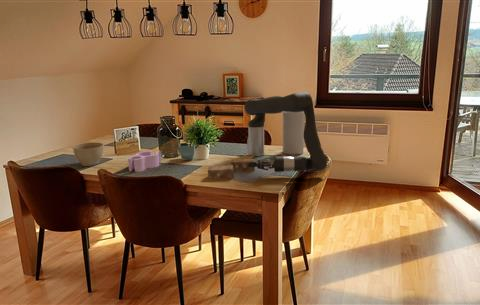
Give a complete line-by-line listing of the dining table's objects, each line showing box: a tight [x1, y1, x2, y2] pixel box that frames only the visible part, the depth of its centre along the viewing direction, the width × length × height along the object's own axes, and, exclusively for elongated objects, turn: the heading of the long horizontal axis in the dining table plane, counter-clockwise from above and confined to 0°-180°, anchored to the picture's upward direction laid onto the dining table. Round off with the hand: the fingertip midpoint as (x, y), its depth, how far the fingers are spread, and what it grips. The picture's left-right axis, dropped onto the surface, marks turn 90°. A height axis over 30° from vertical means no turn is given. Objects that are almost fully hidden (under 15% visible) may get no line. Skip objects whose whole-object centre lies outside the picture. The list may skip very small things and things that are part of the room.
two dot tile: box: [230, 158, 255, 172], centre depth 204 cm, size 5×5×12 cm
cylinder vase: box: [282, 111, 305, 156], centre depth 237 cm, size 12×12×25 cm
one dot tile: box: [207, 164, 235, 180], centre depth 192 cm, size 5×5×12 cm
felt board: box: [232, 167, 276, 184], centre depth 198 cm, size 17×25×1 cm
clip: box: [127, 149, 162, 173], centre depth 216 cm, size 20×12×7 cm, turn 154°
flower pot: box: [178, 142, 196, 161], centre depth 229 cm, size 9×9×9 cm
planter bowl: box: [72, 141, 104, 167], centre depth 223 cm, size 16×16×11 cm
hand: (248, 164), depth 190 cm, fingers closed
